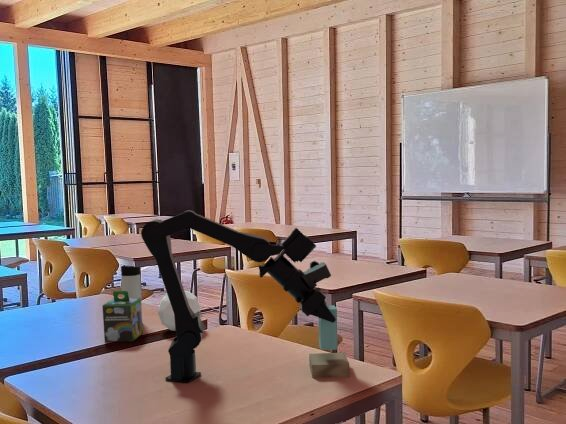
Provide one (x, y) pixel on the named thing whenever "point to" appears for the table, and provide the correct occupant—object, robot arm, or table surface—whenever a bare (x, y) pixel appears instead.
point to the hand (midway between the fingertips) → (333, 318)
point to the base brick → (329, 365)
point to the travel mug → (131, 281)
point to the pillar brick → (328, 332)
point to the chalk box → (122, 318)
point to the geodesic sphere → (167, 311)
